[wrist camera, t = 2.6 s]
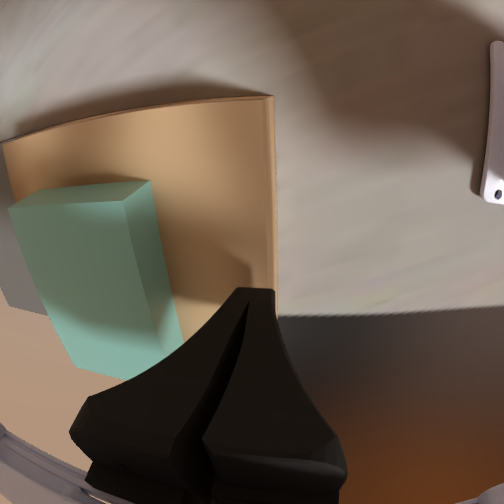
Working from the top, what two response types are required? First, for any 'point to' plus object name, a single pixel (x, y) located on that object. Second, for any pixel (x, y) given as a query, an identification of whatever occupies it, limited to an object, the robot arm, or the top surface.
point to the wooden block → (178, 187)
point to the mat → (14, 252)
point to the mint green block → (101, 274)
